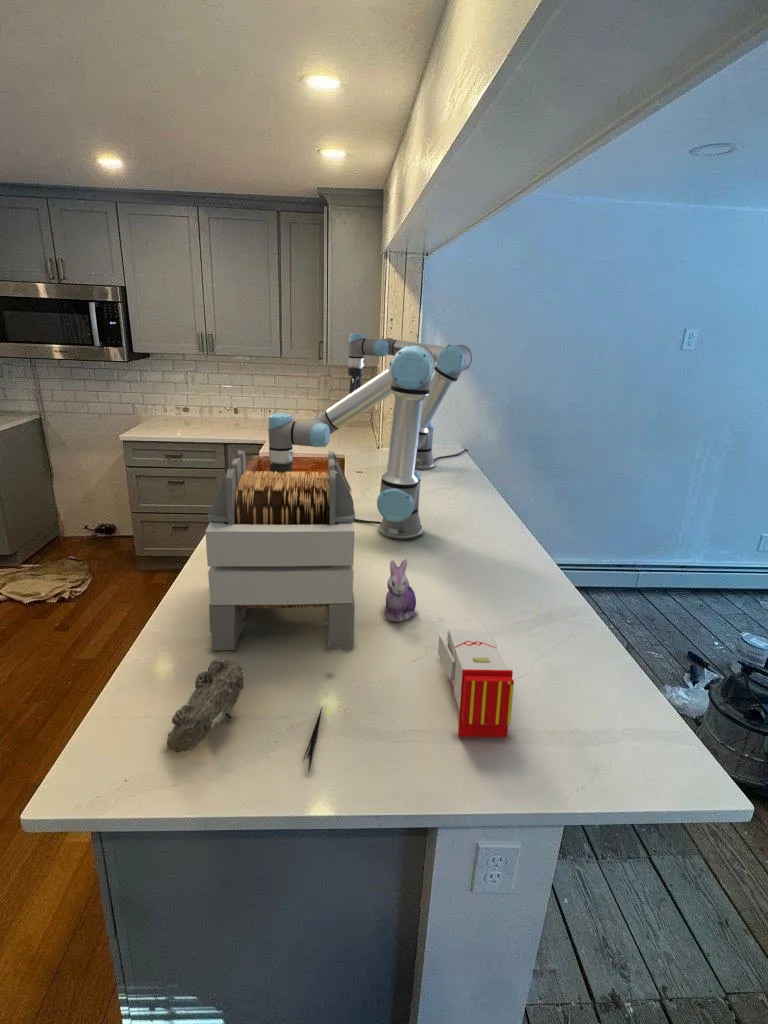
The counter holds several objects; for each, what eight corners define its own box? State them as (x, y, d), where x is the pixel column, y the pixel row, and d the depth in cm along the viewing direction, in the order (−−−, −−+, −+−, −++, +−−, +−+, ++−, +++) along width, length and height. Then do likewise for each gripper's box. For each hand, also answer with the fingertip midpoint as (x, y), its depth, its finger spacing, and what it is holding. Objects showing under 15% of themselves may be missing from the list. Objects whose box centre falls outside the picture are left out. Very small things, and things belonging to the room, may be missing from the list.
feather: (331, 679, 122) (336, 673, 122) (307, 777, 96) (313, 769, 95) (324, 675, 122) (329, 669, 121) (298, 772, 95) (304, 764, 95)
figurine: (392, 627, 141) (395, 572, 136) (374, 608, 149) (376, 556, 144) (425, 619, 145) (429, 566, 140) (405, 601, 154) (408, 550, 149)
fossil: (192, 660, 117) (244, 628, 112) (224, 691, 120) (276, 661, 115) (142, 746, 98) (202, 712, 93) (182, 779, 101) (242, 748, 96)
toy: (488, 613, 130) (523, 677, 101) (484, 667, 133) (517, 744, 104) (435, 612, 130) (455, 676, 101) (432, 666, 133) (451, 743, 103)
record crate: (231, 583, 159) (223, 441, 145) (347, 582, 163) (350, 443, 149) (209, 653, 127) (196, 479, 114) (354, 649, 131) (359, 481, 117)
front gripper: (283, 469, 177) (284, 538, 184) (300, 455, 194) (300, 518, 202) (260, 467, 177) (262, 536, 185) (279, 453, 195) (280, 517, 203)
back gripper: (358, 370, 260) (357, 416, 267) (368, 365, 283) (366, 407, 291) (342, 369, 261) (341, 415, 268) (353, 364, 284) (352, 406, 292)
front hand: (282, 527), depth 194 cm, fingers open, 6 cm apart
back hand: (354, 411), depth 280 cm, fingers open, 13 cm apart
